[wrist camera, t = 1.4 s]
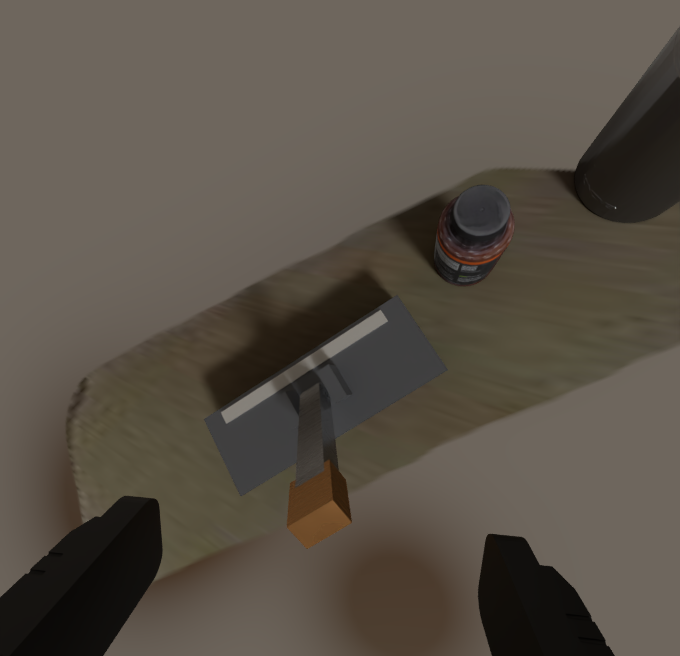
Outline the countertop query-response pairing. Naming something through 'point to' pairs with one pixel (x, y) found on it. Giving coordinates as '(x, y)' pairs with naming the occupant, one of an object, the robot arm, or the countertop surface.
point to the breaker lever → (317, 473)
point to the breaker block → (341, 383)
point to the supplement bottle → (473, 235)
